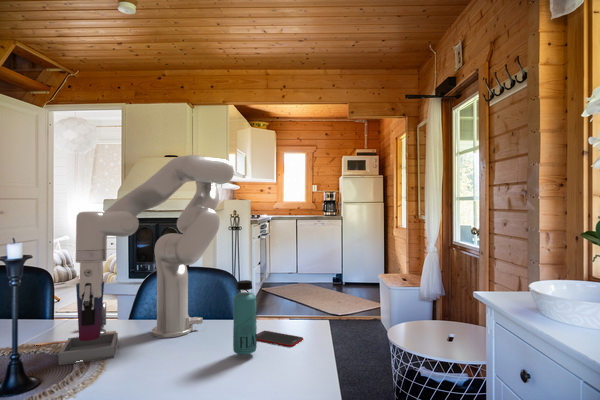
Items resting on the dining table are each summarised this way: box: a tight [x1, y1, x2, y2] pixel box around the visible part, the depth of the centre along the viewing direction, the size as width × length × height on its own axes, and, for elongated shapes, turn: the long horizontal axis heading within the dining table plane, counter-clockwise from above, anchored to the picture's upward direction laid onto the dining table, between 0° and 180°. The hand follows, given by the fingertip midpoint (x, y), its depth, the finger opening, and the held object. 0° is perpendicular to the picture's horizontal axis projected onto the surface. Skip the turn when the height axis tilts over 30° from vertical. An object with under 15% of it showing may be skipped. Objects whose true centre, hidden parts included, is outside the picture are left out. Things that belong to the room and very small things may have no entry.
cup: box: [75, 281, 105, 341], centre depth 105 cm, size 7×7×15 cm
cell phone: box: [256, 330, 304, 348], centre depth 115 cm, size 8×15×1 cm, turn 61°
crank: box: [100, 301, 107, 334], centre depth 122 cm, size 16×5×7 cm, turn 21°
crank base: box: [34, 330, 117, 347], centre depth 114 cm, size 21×8×1 cm, turn 111°
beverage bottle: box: [232, 279, 258, 355], centre depth 102 cm, size 6×7×20 cm
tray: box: [58, 332, 119, 366], centre depth 104 cm, size 13×13×3 cm
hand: (90, 321), depth 105 cm, fingers closed on cup, 6 cm apart
